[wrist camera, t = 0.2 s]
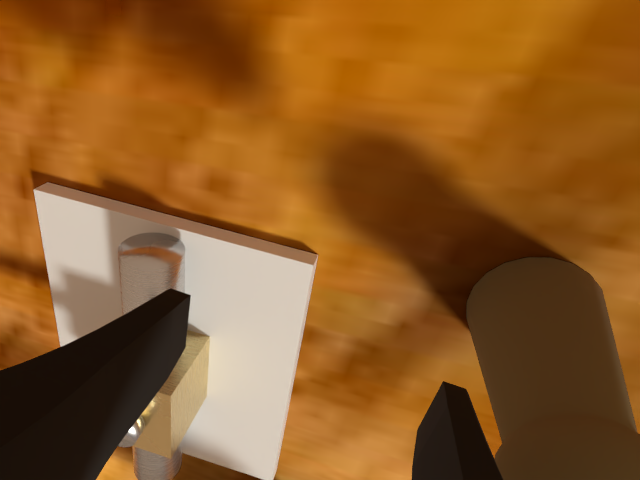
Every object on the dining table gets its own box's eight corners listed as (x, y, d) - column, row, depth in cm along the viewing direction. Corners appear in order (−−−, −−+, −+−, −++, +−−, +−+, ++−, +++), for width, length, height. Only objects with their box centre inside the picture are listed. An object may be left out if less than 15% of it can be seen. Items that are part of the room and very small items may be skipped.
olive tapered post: (443, 329, 23) (442, 561, 14) (508, 235, 20) (563, 453, 11) (554, 378, 23) (628, 645, 14) (637, 291, 20) (804, 560, 11)
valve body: (203, 455, 32) (171, 518, 28) (136, 433, 32) (96, 492, 29) (215, 247, 23) (170, 299, 19) (122, 222, 24) (62, 267, 20)
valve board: (276, 469, 32) (272, 482, 31) (81, 405, 34) (72, 416, 33) (318, 254, 23) (313, 265, 22) (47, 182, 25) (33, 189, 24)
